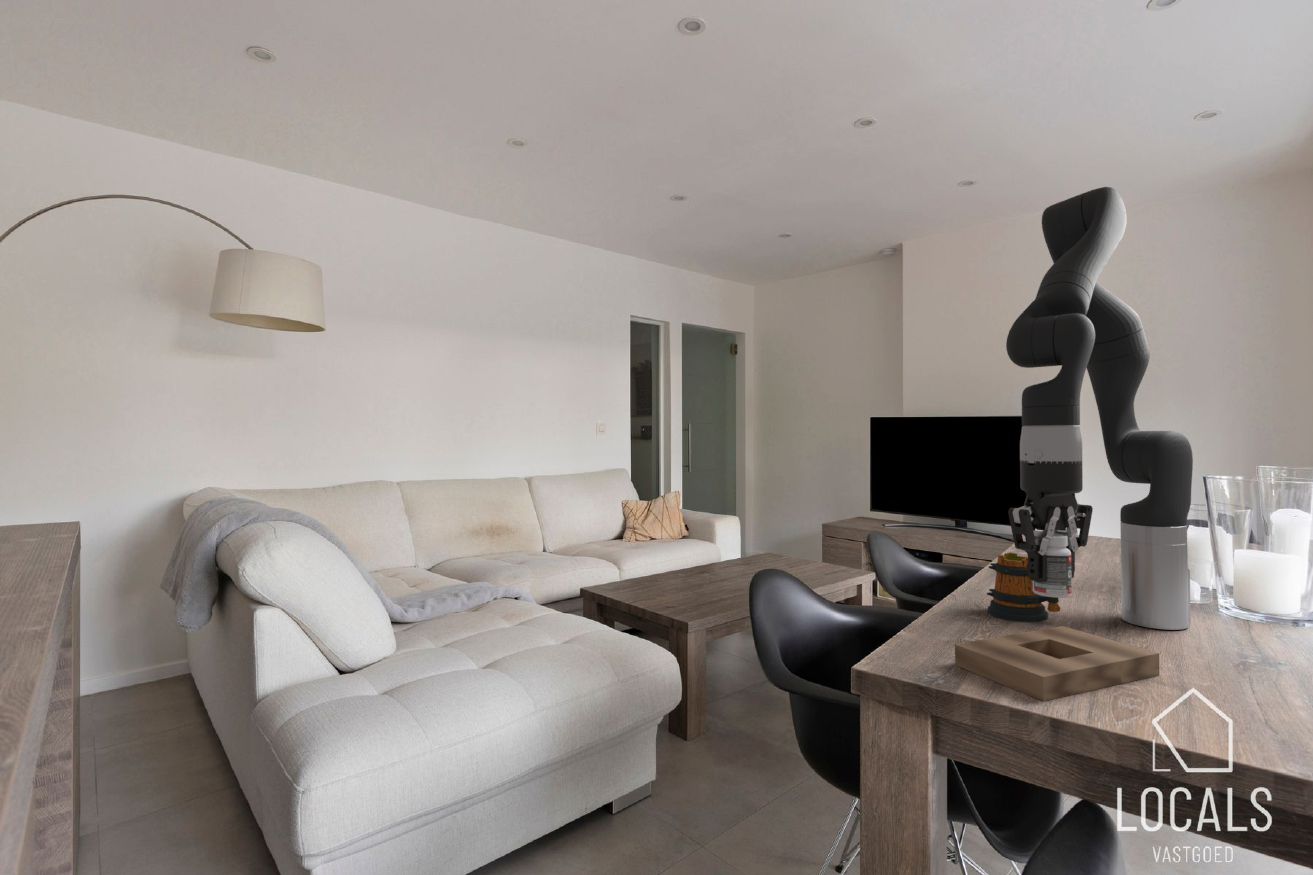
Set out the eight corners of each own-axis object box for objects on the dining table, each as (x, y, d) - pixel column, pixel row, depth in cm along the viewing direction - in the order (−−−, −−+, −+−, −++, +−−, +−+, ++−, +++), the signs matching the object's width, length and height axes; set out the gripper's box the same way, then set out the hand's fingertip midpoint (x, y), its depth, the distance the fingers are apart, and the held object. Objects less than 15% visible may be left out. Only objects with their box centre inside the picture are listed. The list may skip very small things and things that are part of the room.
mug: (975, 613, 121) (975, 551, 121) (1002, 604, 127) (1001, 545, 127) (1052, 629, 111) (1051, 561, 111) (1077, 618, 117) (1076, 554, 117)
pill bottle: (1077, 599, 89) (1077, 537, 89) (1039, 597, 90) (1039, 536, 90) (1063, 590, 94) (1063, 532, 94) (1027, 589, 95) (1027, 531, 95)
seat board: (1063, 645, 103) (1062, 625, 102) (1159, 675, 89) (1159, 653, 89) (955, 664, 95) (954, 644, 95) (1043, 701, 82) (1043, 676, 81)
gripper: (1061, 456, 98) (1062, 570, 98) (990, 458, 93) (990, 578, 93) (1112, 457, 91) (1113, 580, 91) (1037, 460, 86) (1038, 589, 86)
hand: (1051, 578), depth 92 cm, fingers closed on pill bottle, 4 cm apart
